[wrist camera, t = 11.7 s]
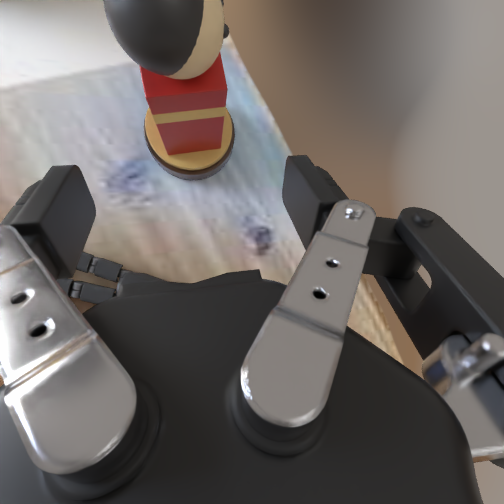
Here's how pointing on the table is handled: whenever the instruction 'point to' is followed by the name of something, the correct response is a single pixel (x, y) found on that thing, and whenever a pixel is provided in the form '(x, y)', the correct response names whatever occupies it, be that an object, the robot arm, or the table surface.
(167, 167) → the swivel stand
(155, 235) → the table surface
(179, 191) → the table surface
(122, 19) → the doll
